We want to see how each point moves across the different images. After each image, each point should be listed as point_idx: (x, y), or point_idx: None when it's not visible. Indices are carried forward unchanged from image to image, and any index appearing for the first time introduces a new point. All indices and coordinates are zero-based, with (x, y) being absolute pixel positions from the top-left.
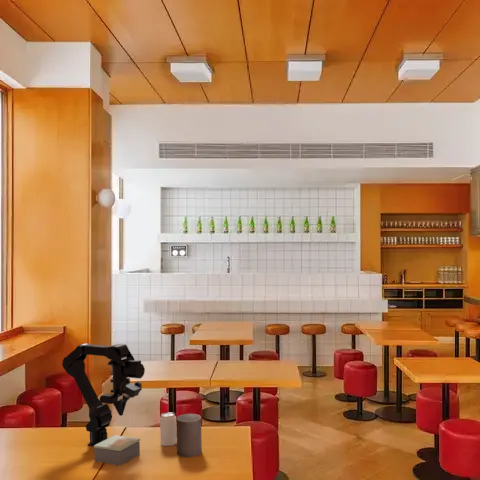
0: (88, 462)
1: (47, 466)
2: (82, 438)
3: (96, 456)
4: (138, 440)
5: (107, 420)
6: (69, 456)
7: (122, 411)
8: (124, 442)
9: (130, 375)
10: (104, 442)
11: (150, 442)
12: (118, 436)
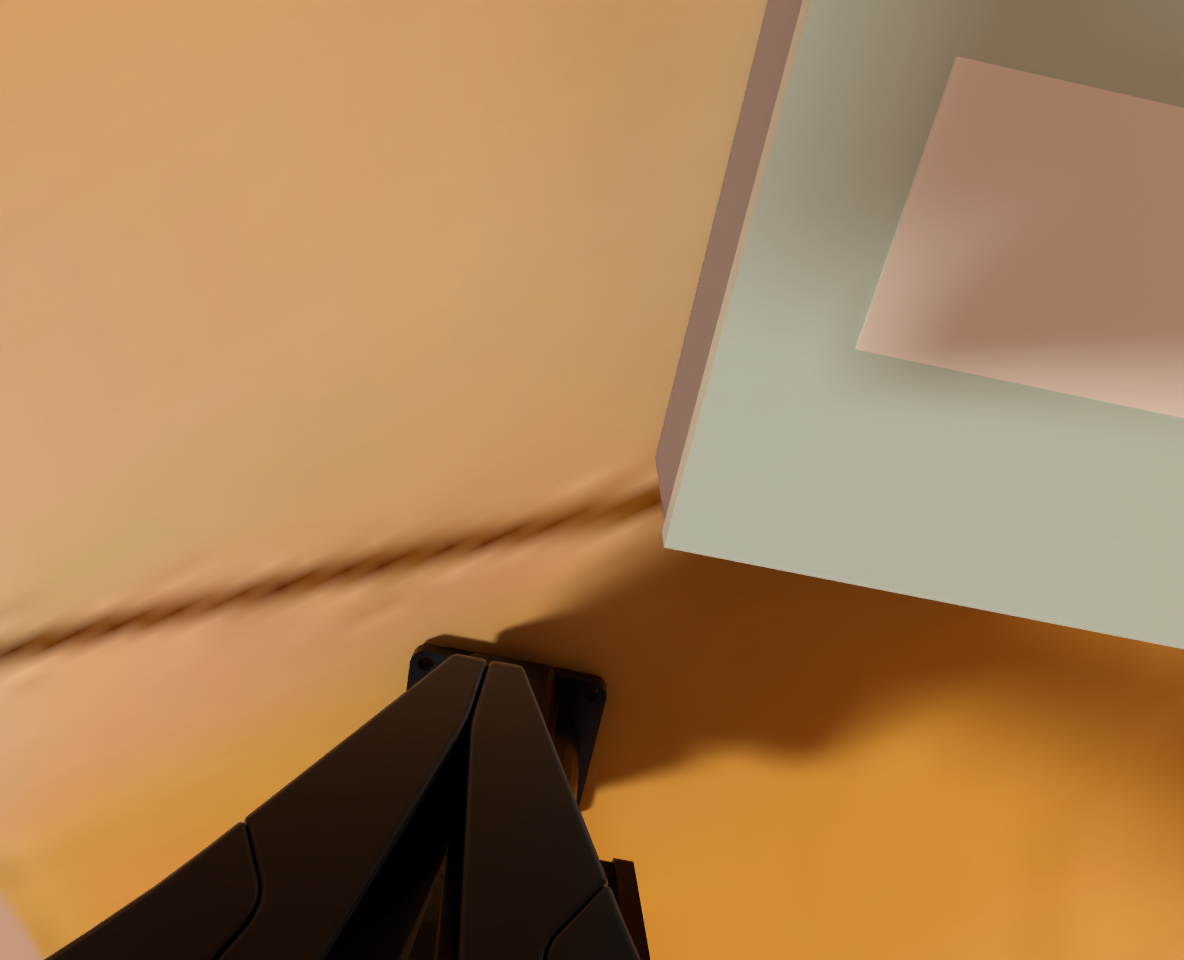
0: None
1: (1175, 899)
2: None
3: None
4: None
5: (439, 891)
6: (902, 837)
7: (471, 732)
8: (1130, 137)
9: None
10: (1057, 551)
11: (235, 60)
12: (734, 449)
